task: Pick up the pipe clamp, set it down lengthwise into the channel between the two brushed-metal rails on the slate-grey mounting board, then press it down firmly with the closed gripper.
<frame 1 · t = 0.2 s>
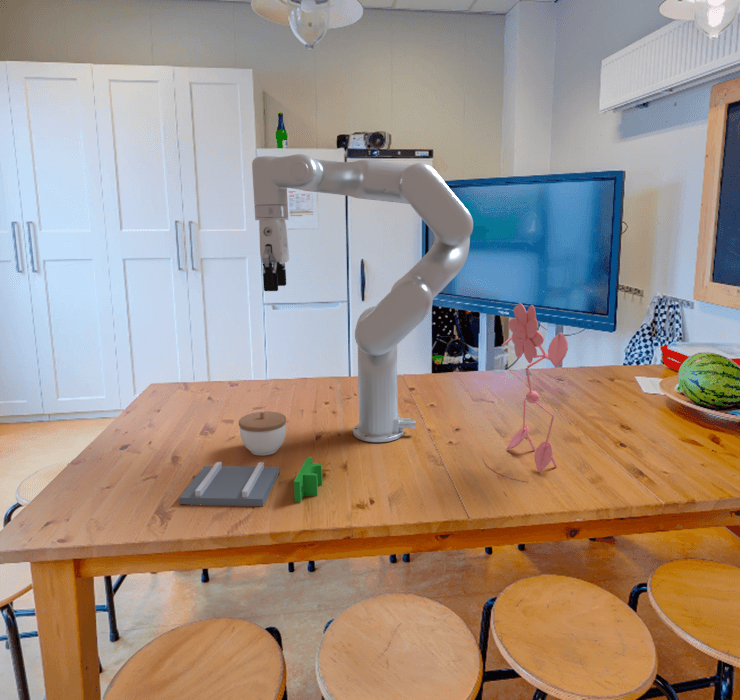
hand: (275, 288, 135), 36 cm above the table, tool pointing down, fingers open, 9 cm apart
pipe clamp: (310, 491, 114), on the table
figurine: (516, 462, 125), on the table
rail board: (232, 488, 115), on the table
lidded jar: (264, 451, 133), on the table
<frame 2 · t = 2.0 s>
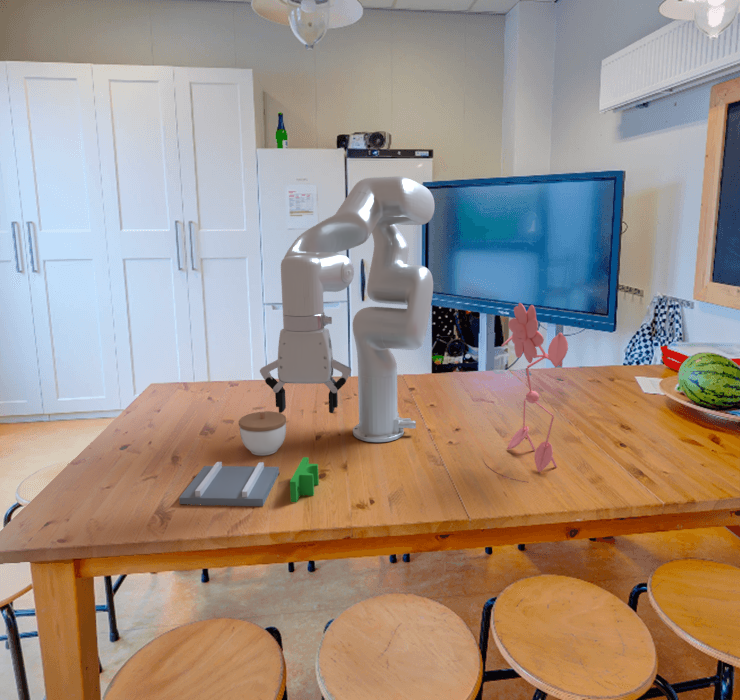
hand: (307, 410, 110), 16 cm above the table, tool pointing down, fingers open, 9 cm apart
nothing on the table moved.
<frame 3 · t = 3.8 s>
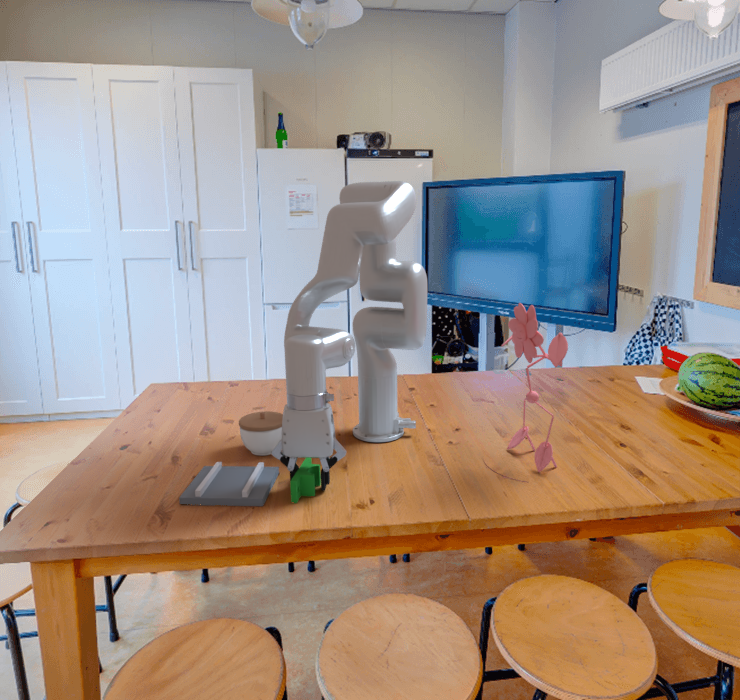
hand: (310, 486, 114), 1 cm above the table, tool pointing down, fingers open, 4 cm apart
nothing on the table moved.
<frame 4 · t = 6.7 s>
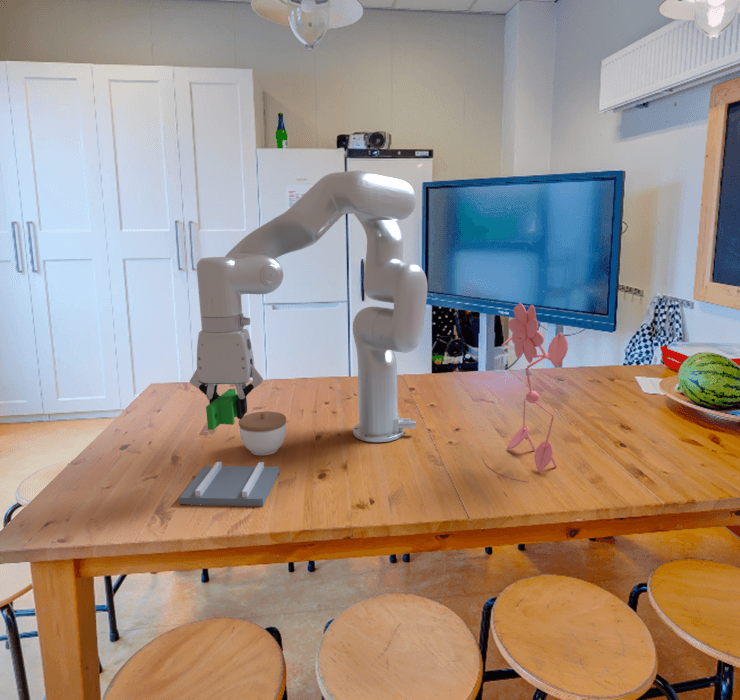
hand: (229, 415, 111), 15 cm above the table, tool pointing down, fingers closed on pipe clamp, 4 cm apart
pipe clamp: (228, 420, 111), point 14 cm above the table, touching gripper
everything else where it was.
when the fingers open (4 cm above the table, at t = 9.2 s): pipe clamp drops 1 cm, resting on rail board.
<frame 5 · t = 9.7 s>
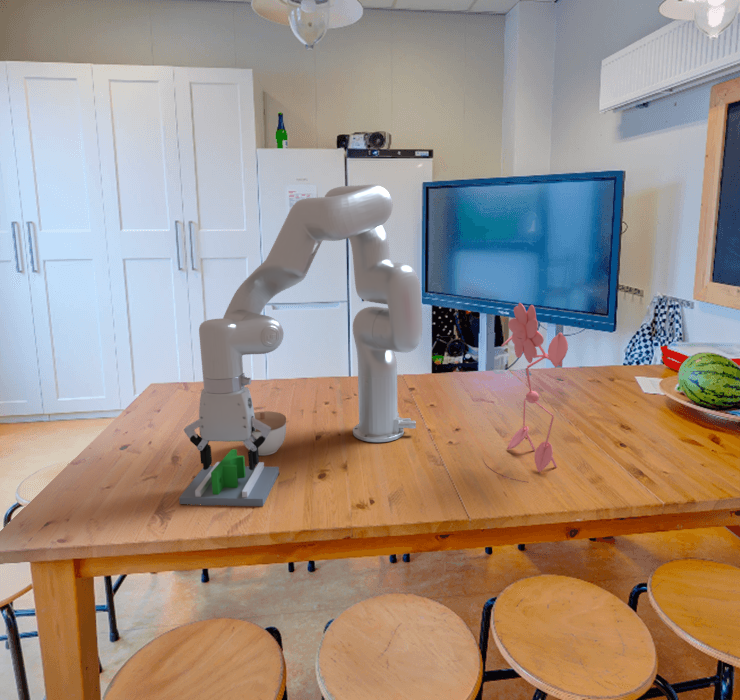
hand: (230, 466, 114), 5 cm above the table, tool pointing down, fingers open, 8 cm apart
pipe clamp: (231, 482, 114), point 1 cm above the table, touching rail board
everything else where it was.
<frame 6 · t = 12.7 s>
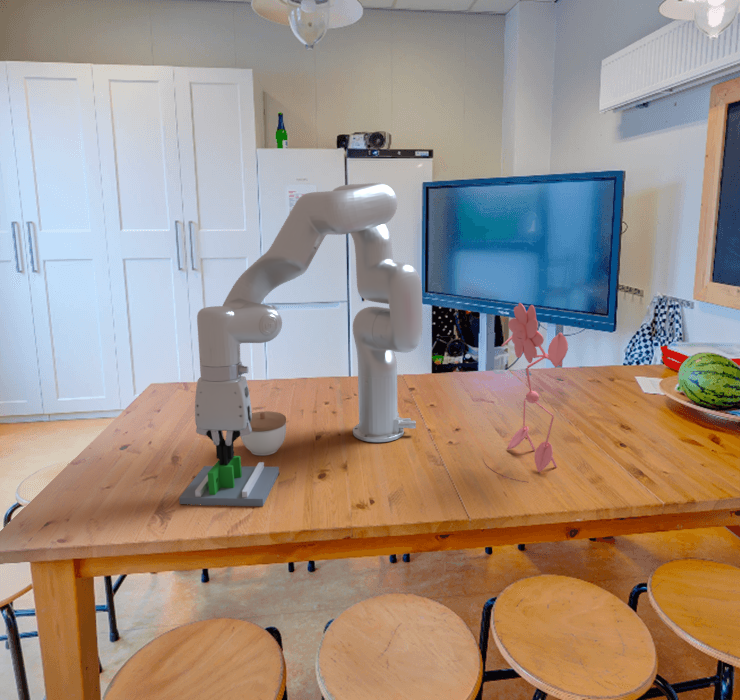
hand: (225, 461, 113), 6 cm above the table, tool pointing down, fingers closed
pipe clamp: (228, 482, 114), point 1 cm above the table, touching gripper, rail board
everything else where it was.
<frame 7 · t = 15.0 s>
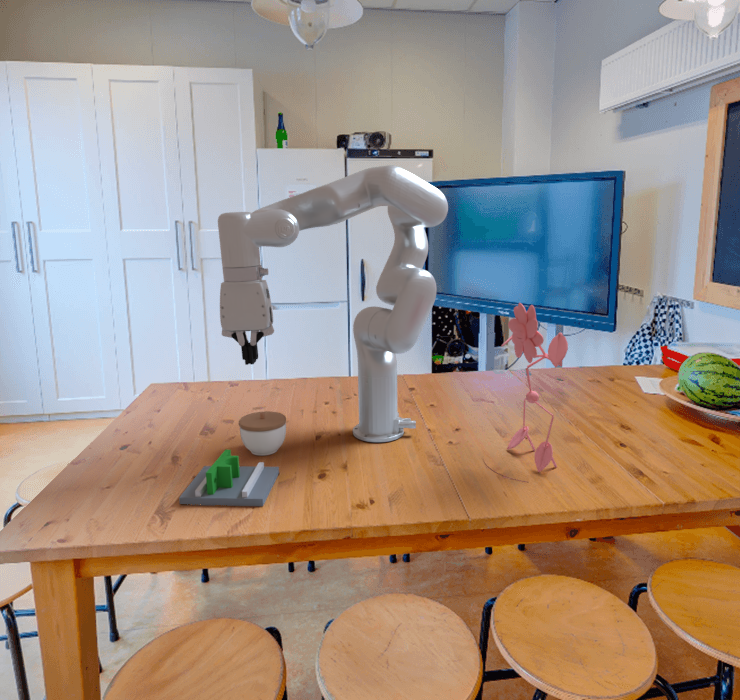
hand: (250, 362, 120), 23 cm above the table, tool pointing down, fingers closed
pipe clamp: (226, 482, 114), point 1 cm above the table, touching rail board
everything else where it was.
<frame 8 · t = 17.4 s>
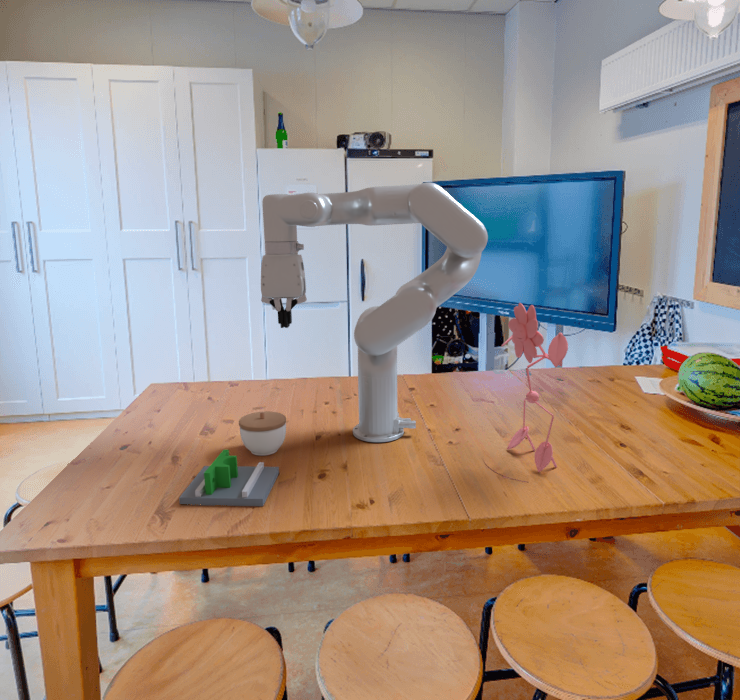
hand: (285, 326, 137), 27 cm above the table, tool pointing down, fingers closed
nothing on the table moved.
at the end: pipe clamp 1.4 cm off-centre on the rail board, point 1.3 cm above the rail board's base; pipe clamp tilted 1°; the gripper is holding nothing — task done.
